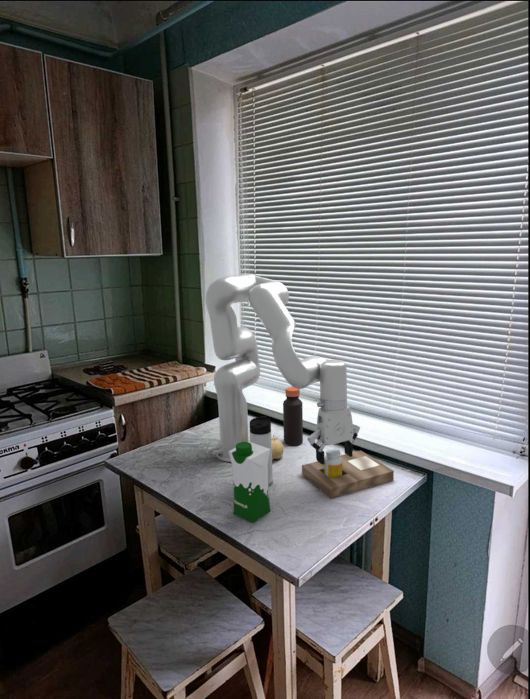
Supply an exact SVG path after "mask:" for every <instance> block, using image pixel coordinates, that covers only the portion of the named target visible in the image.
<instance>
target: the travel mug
mask: <svg viewBox="0 0 530 699" xmlns="http://www.w3.org/2000/svg"><path fill="white" fill-rule="evenodd" d="M271 422H272V421H271V419H270V418H268V417H267V416H266V415H260V416H258V417H254V418H252V419H251V420H250V421H249V442H252V443H255V444H257V445H260V446H263V447H266V448H269V449H270V454H269V459H268V488H269V487H271V486H272V485H273V481H274V480H273V460H272V441H271V439H272V423H271Z"/></svg>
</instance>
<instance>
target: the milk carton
mask: <svg viewBox="0 0 530 699" xmlns="http://www.w3.org/2000/svg"><path fill="white" fill-rule="evenodd" d="M269 454H270V449H269V448H266V447H263V446H260V445H257V444H255V443H252V442H250V441H249V442H241V443H238V444H237V445H236V448H234V449H232V450H230V451H229V455H230V459H231V462H230V463H231V466H232V484H233V509H232V510H233V514H234V515H235V516H237V517H239V518H241V519H244V520H245V521H247V522H249V523H252V524H254V523H255V522H256V521H258V520H259V519H261V518H263V517H264V516H265V515H267V514H269V513H270V512H271V505H270V503H271V502H270V497H269V487H268V459H269Z"/></svg>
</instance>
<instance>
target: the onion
mask: <svg viewBox="0 0 530 699" xmlns="http://www.w3.org/2000/svg"><path fill="white" fill-rule="evenodd" d="M271 441H272V461H274V460H278V459H280V458H281V457H282V456H283V454H284V449H285V448H284V444H283V442H282V441H281V440H280V439H278V437H277V436H275V435H274V434H273V435H272V437H271Z"/></svg>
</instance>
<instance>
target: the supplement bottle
mask: <svg viewBox="0 0 530 699" xmlns="http://www.w3.org/2000/svg"><path fill="white" fill-rule="evenodd" d="M325 452H326V454H325V455H326V456H324V459H325V463H324V475H326V476H327V477H328V478H330V479H331V478H334V477H338V476H342V459H341V457H340V455H341V451H340V449H338V448H328V449H327V450H326V451H325Z"/></svg>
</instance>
